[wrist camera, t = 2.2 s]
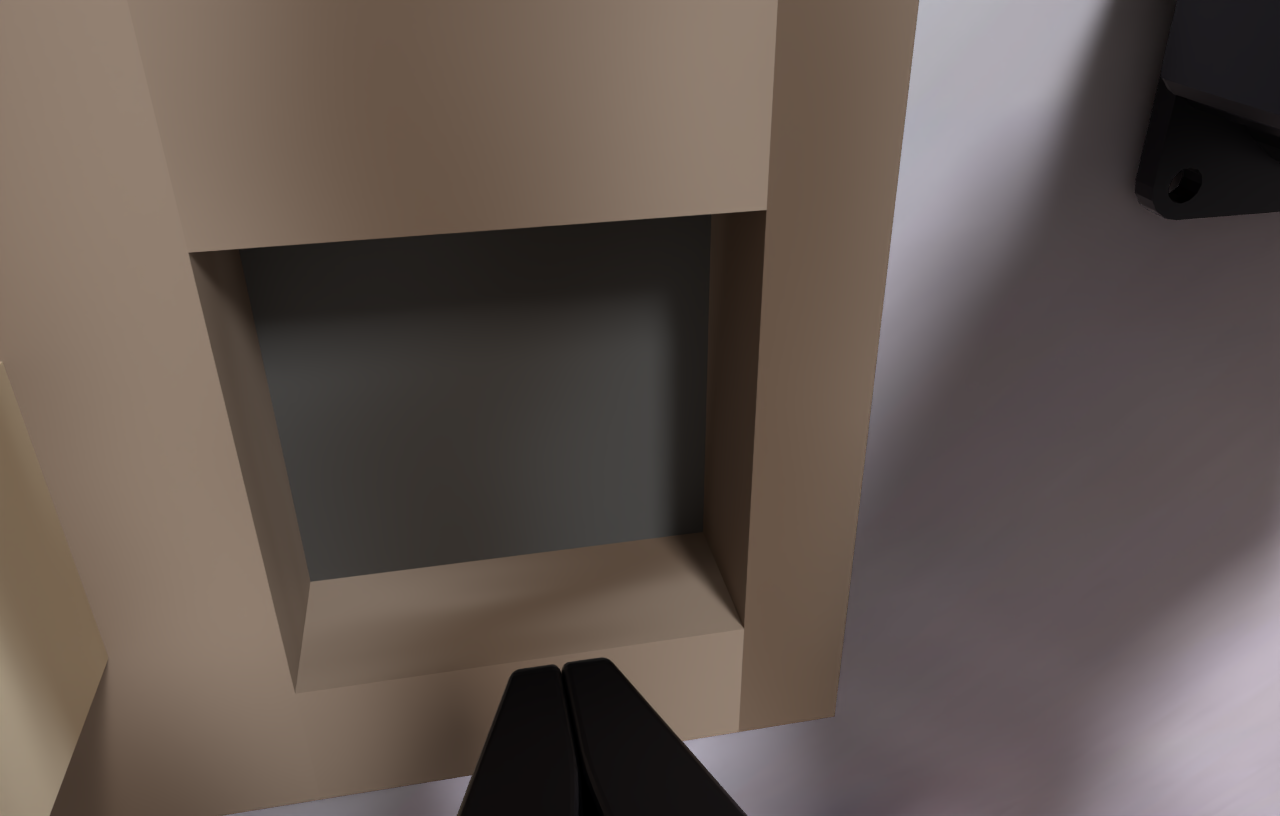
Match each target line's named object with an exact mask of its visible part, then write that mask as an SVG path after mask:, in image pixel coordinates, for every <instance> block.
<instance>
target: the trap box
mask: <svg viewBox="0 0 1280 816" xmlns="http://www.w3.org/2000/svg"><path fill="white" fill-rule="evenodd" d="M918 5H919V0H0V362H3V365H4V367H5V370H6V373H7V376H8V379H9V381H10V384H11V387H12V390H13V392H14V395H15V398H16V401H17V404H18V406H19V409H20V412H21V415H22V418H23V420H24V423H25V426H26V429H27V432H28V434H29V437H30V440H31V443H32V446H33V448H34V451H35V454H36V457H37V460H38V462H39V465H40V468H41V471H42V474H43V476H44V479H45V482H46V485H47V487H48V490H49V493H50V496H51V499H52V501H53V504H54V507H55V510H56V513H57V515H58V518H59V521H60V524H61V527H62V529H63V532H64V535H65V538H66V541H67V543H68V546H69V549H70V552H71V555H72V557H73V560H74V563H75V566H76V569H77V571H78V574H79V577H80V580H81V582H82V585H83V588H84V591H85V594H86V596H87V599H88V602H89V605H90V608H91V610H92V613H93V616H94V619H95V622H96V624H97V627H98V630H99V633H100V636H101V638H102V641H103V644H104V647H105V650H106V652H107V655H108V661H107V663H106V666H105V669H104V671H103V674H102V677H101V679H100V682H99V685H98V687H97V690H96V693H95V695H94V698H93V701H92V703H91V706H90V709H89V711H88V714H87V717H86V720H85V722H84V725H83V728H82V730H81V733H80V736H79V738H78V741H77V744H76V746H75V749H74V752H73V754H72V757H71V760H70V762H69V765H68V768H67V770H66V773H65V776H64V778H63V781H62V784H61V786H60V789H59V792H58V794H57V797H56V800H55V802H54V805H53V808H52V810H51V813H50V816H222V815H228V814H234V813H241V812H247V811H253V810H259V809H265V808H271V807H278V806H284V805H290V804H296V803H302V802H309V801H315V800H321V799H327V798H333V797H340V796H346V795H352V794H358V793H364V792H370V791H377V790H383V789H389V788H395V787H401V786H408V785H414V784H420V783H426V782H432V781H438V780H445V779H451V778H457V777H463V776H469V775H472V774H473V772H474V769H475V766H476V764H477V761H478V758H479V756H480V753H481V751H482V748H483V745H484V743H485V740H486V737H487V735H488V732H489V729H490V727H491V724H492V721H493V719H494V716H495V714H496V711H497V708H498V706H499V703H500V700H501V698H502V695H503V692H504V690H505V687H506V684H507V682H508V679H509V677H510V676H511V674H512V673H513V672H514V671H515V670H517V669H522V668H529V667H536V666H543V665H550V664H554V665H556V666H558V667H559V668H560V670H562V667H563V665H564V664H566V663H567V662H571V661H578V660H585V659H592V658H600V657H605V658H607V659H609V660H611V661H612V662H613V663H614V664H615V665H616V666H617V667H618V669H619V670H620V671H621V672H622V673H623V674H624V675H625V677H626V678H627V679H628V680H629V681H630V682H631V683H632V685H633V686H634V687H635V688H636V689H637V690H638V691H639V693H640V694H641V695H642V696H643V697H644V698H645V699H646V701H647V702H648V703H649V704H650V705H651V706H652V707H653V709H654V710H655V711H656V712H657V713H658V714H659V715H660V717H661V718H662V719H663V720H664V721H665V722H666V723H667V724H668V726H669V727H670V728H671V729H672V730H673V731H674V732H675V734H676V735H677V736H678V737H679V738H680V739H681V740H682V741H686V740H692V739H698V738H705V737H711V736H717V735H723V734H729V733H735V732H742V731H748V730H754V729H760V728H766V727H773V726H779V725H785V724H791V723H797V722H804V721H810V720H816V719H822V718H828V717H834V716H835V708H836V700H837V691H838V683H839V674H840V666H841V657H842V649H843V640H844V632H845V624H846V615H847V607H848V598H849V590H850V581H851V573H852V564H853V556H854V547H855V539H856V530H857V522H858V513H859V505H860V496H861V488H862V479H863V471H864V462H865V454H866V446H867V437H868V429H869V420H870V412H871V403H872V395H873V386H874V378H875V369H876V361H877V352H878V344H879V335H880V327H881V318H882V310H883V301H884V293H885V285H886V276H887V268H888V259H889V251H890V242H891V234H892V225H893V217H894V208H895V200H896V191H897V183H898V174H899V166H900V157H901V149H902V140H903V132H904V123H905V115H906V107H907V98H908V90H909V81H910V73H911V64H912V56H913V47H914V39H915V30H916V22H917V13H918Z"/></svg>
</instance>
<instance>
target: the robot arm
mask: <svg viewBox="0 0 1280 816" xmlns="http://www.w3.org/2000/svg"><path fill="white" fill-rule="evenodd" d="M1181 170H1183V178H1182V180H1181V182H1180V184H1179V185H1178V186H1177V187H1176V188H1175V189H1174V190H1173V191H1172V192H1170V193H1169V185H1170V183H1171V181H1172V179H1173V177H1174V176H1175V175H1177V174H1178V173H1179V172H1180V171H1181ZM1135 194H1136V197H1137V199H1138V202H1139V203H1140V204H1141V205H1142V206H1143V207H1145V208H1146V209H1147V210H1149V211H1151V212H1153V213H1155V214H1157V215H1159V216H1161V217H1163V218H1166V219H1173V220H1181V219H1194V218H1206V217H1218V216H1231V215H1243V214H1255V213H1268V212H1280V0H1177V4H1176V8H1175V12H1174V17H1173V21H1172V25H1171V29H1170V34H1169V38H1168V42H1167V46H1166V51H1165V55H1164V59H1163V63H1162V68H1161V74H1160V79H1159V83H1158V87H1157V91H1156V96H1155V100H1154V104H1153V108H1152V113H1151V117H1150V121H1149V125H1148V129H1147V134H1146V138H1145V142H1144V146H1143V151H1142V155H1141V159H1140V163H1139V168H1138V172H1137V176H1136V182H1135ZM457 816H747V815H746V813H745V812H744V811H743V810H742V809H741V808H740V807H739V805H738V804H737V803H736V802H735V801H734V800H733V799H732V797H731V796H730V795H729V794H728V793H727V792H726V791H725V789H724V788H723V787H722V786H721V785H720V784H719V783H718V782H717V780H716V779H715V778H714V777H713V776H712V775H711V774H710V772H709V771H708V770H707V769H706V768H705V767H704V766H703V764H702V763H701V762H700V761H699V760H698V759H697V758H696V756H695V755H694V754H693V753H692V752H691V751H690V750H689V748H688V747H687V746H686V745H685V744H684V743H683V742H682V740H681V739H680V738H679V737H678V736H677V735H676V734H675V732H674V731H673V730H672V729H671V728H670V727H669V726H668V724H667V723H666V722H665V721H664V720H663V719H662V718H661V717H660V715H659V714H658V713H657V712H656V711H655V710H654V709H653V707H652V706H651V705H650V704H649V703H648V702H647V701H646V699H645V698H644V697H643V696H642V695H641V694H640V693H639V691H638V690H637V689H636V688H635V687H634V686H633V685H632V683H631V682H630V681H629V680H628V679H627V678H626V677H625V675H624V674H623V673H622V672H621V671H620V670H619V669H618V667H617V666H616V665H615V664H614V663H613V662H612V661H611V660H609V659H607V658H605V657H600V658H592V659H585V660H578V661H571V662H567V663H566V664H564V665H563V667H562V670H560V668H559V667H558V666H556V665H554V664H550V665H543V666H536V667H529V668H522V669H517V670H515V671H514V672H513V673H512V674H511V676H510V677H509V679H508V682H507V684H506V687H505V690H504V692H503V695H502V698H501V700H500V703H499V706H498V708H497V711H496V714H495V716H494V719H493V721H492V724H491V727H490V729H489V732H488V735H487V737H486V740H485V743H484V745H483V748H482V751H481V753H480V756H479V758H478V761H477V764H476V766H475V769H474V772H473V774H472V777H471V780H470V782H469V785H468V788H467V790H466V793H465V795H464V798H463V801H462V803H461V806H460V809H459V811H458V814H457Z"/></svg>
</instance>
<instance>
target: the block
mask: <svg viewBox="0 0 1280 816" xmlns="http://www.w3.org/2000/svg"><path fill="white" fill-rule="evenodd" d="M107 661H108V655H107V652H106V650H105V647H104V644H103V641H102V638H101V636H100V633H99V630H98V627H97V624H96V622H95V619H94V616H93V613H92V610H91V608H90V605H89V602H88V599H87V596H86V594H85V591H84V588H83V585H82V582H81V580H80V577H79V574H78V571H77V569H76V566H75V563H74V560H73V557H72V555H71V552H70V549H69V546H68V543H67V541H66V538H65V535H64V532H63V529H62V527H61V524H60V521H59V518H58V515H57V513H56V510H55V507H54V504H53V501H52V499H51V496H50V493H49V490H48V487H47V485H46V482H45V479H44V476H43V474H42V471H41V468H40V465H39V462H38V460H37V457H36V454H35V451H34V448H33V446H32V443H31V440H30V437H29V434H28V432H27V429H26V426H25V423H24V420H23V418H22V415H21V412H20V409H19V406H18V404H17V401H16V398H15V395H14V392H13V390H12V387H11V384H10V381H9V379H8V376H7V373H6V370H5V367H4V365H3V362H0V816H50V813H51V810H52V808H53V805H54V802H55V800H56V797H57V794H58V792H59V789H60V786H61V784H62V781H63V778H64V776H65V773H66V770H67V768H68V765H69V762H70V760H71V757H72V754H73V752H74V749H75V746H76V744H77V741H78V738H79V736H80V733H81V730H82V728H83V725H84V722H85V720H86V717H87V714H88V711H89V709H90V706H91V703H92V701H93V698H94V695H95V693H96V690H97V687H98V685H99V682H100V679H101V677H102V674H103V671H104V669H105V666H106V663H107Z"/></svg>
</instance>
